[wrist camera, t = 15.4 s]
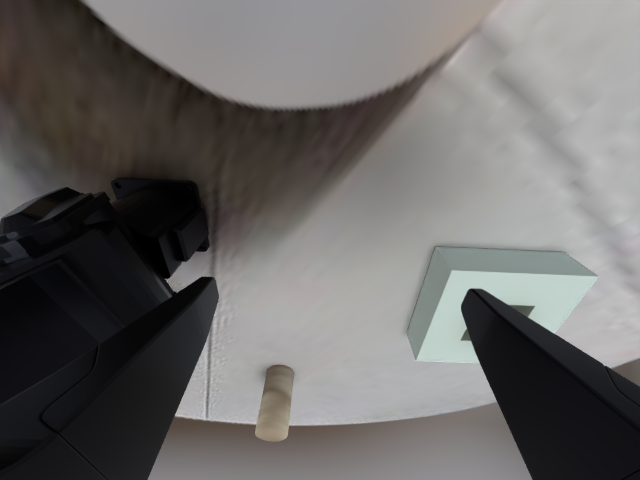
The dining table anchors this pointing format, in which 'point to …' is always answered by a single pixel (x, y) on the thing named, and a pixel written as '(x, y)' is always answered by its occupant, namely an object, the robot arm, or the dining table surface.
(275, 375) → the short pin
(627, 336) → the dining table surface
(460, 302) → the collar block
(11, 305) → the robot arm
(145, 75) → the dining table surface
